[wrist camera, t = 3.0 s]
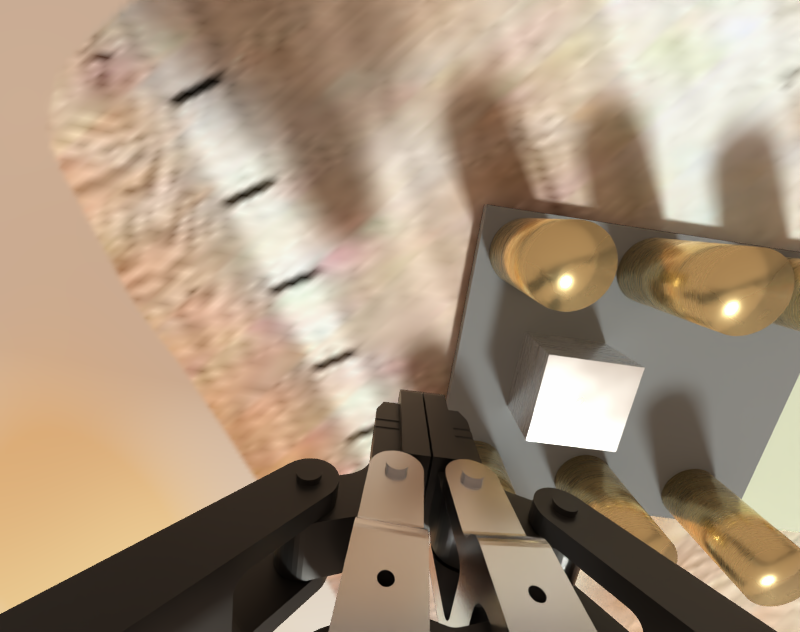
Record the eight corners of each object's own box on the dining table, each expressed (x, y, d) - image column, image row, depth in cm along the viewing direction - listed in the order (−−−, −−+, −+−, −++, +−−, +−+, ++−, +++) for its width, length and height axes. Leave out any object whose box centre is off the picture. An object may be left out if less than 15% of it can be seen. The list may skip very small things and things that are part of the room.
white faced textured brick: (605, 343, 18) (644, 367, 15) (583, 416, 19) (615, 452, 16) (525, 331, 18) (549, 354, 15) (506, 406, 19) (526, 440, 16)
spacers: (818, 262, 17) (983, 280, 12) (705, 518, 21) (798, 609, 16) (496, 213, 16) (537, 212, 12) (441, 485, 20) (453, 570, 15)
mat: (956, 276, 18) (974, 278, 17) (818, 529, 22) (830, 537, 21) (484, 205, 17) (487, 204, 16) (430, 481, 21) (431, 488, 20)
